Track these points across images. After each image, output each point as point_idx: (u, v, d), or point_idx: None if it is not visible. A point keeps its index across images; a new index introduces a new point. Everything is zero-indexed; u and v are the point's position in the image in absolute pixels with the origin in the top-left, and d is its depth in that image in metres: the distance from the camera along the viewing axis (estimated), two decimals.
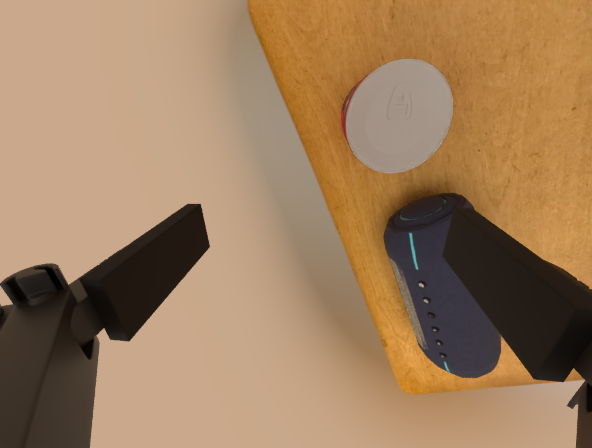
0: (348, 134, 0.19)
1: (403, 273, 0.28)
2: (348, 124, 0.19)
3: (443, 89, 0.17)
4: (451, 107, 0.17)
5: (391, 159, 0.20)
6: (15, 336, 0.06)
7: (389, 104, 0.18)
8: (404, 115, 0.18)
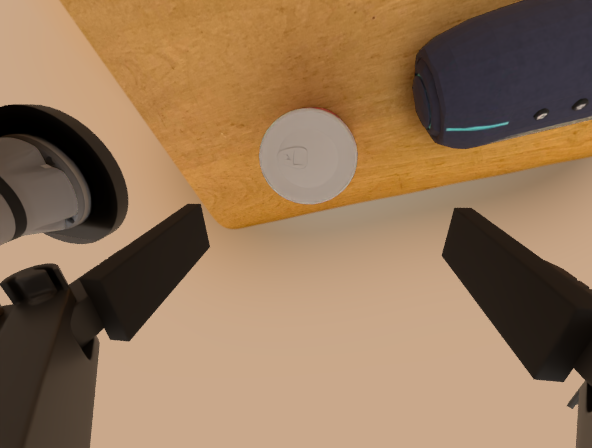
0: (311, 203, 0.21)
1: (512, 134, 0.20)
2: (303, 203, 0.21)
3: (285, 120, 0.18)
4: (302, 111, 0.18)
5: (342, 165, 0.20)
6: (14, 336, 0.06)
7: (292, 166, 0.20)
8: (303, 153, 0.20)
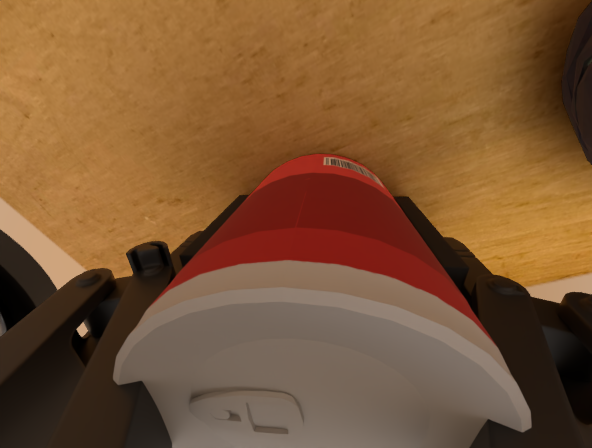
0: None
1: None
2: None
3: (175, 330, 0.04)
4: (237, 300, 0.03)
5: (449, 443, 0.05)
6: (133, 301, 0.07)
7: (254, 429, 0.06)
8: (284, 409, 0.05)
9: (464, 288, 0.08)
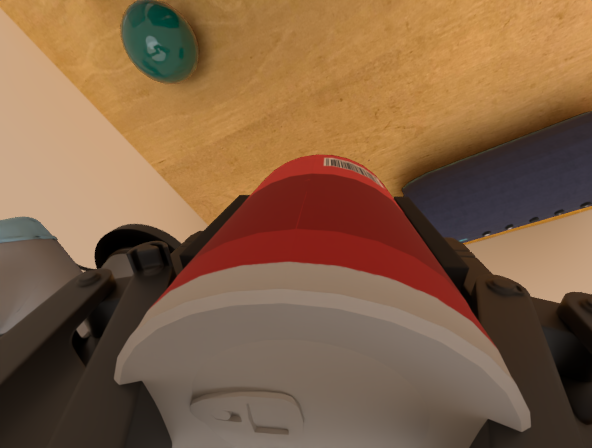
0: None
1: (473, 239, 0.30)
2: None
3: (176, 331, 0.04)
4: (238, 301, 0.03)
5: (448, 443, 0.05)
6: (132, 301, 0.07)
7: (254, 430, 0.06)
8: (285, 409, 0.05)
9: (464, 288, 0.08)
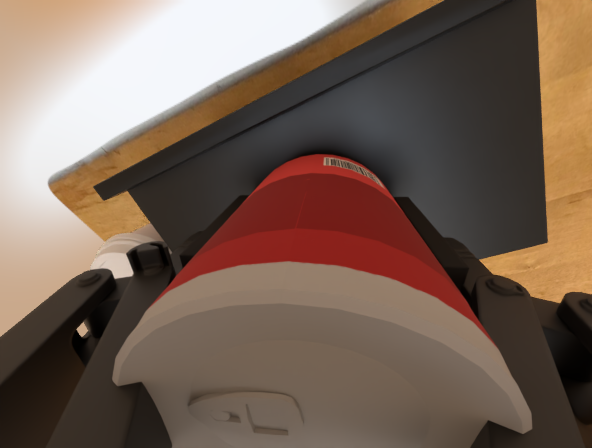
0: None
1: None
2: None
3: (174, 332, 0.04)
4: (236, 301, 0.03)
5: (449, 445, 0.05)
6: (132, 301, 0.07)
7: (254, 431, 0.06)
8: (284, 410, 0.05)
9: (464, 288, 0.08)
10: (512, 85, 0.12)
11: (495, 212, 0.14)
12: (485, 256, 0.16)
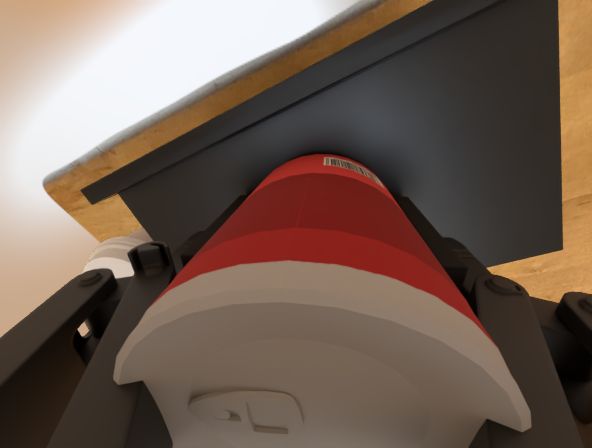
0: None
1: None
2: None
3: (175, 330, 0.04)
4: (237, 300, 0.03)
5: (449, 443, 0.05)
6: (133, 301, 0.07)
7: (254, 429, 0.06)
8: (284, 409, 0.05)
9: (463, 288, 0.08)
10: (529, 81, 0.11)
11: (507, 217, 0.14)
12: (496, 263, 0.15)
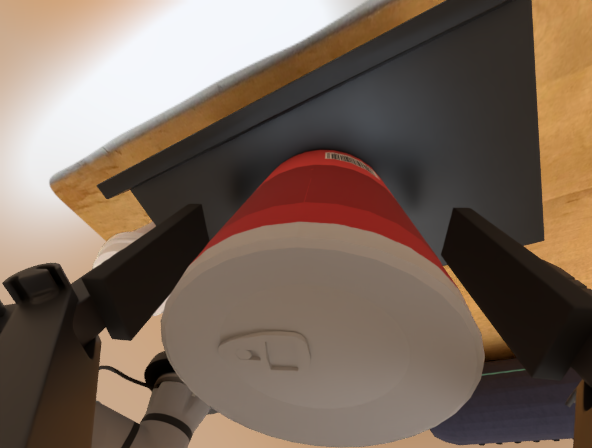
0: (338, 446, 0.08)
1: None
2: (314, 445, 0.08)
3: (215, 275, 0.05)
4: (264, 247, 0.05)
5: (425, 371, 0.06)
6: (17, 335, 0.06)
7: (270, 369, 0.07)
8: (296, 346, 0.06)
9: None
10: (508, 85, 0.12)
11: (492, 210, 0.15)
12: None
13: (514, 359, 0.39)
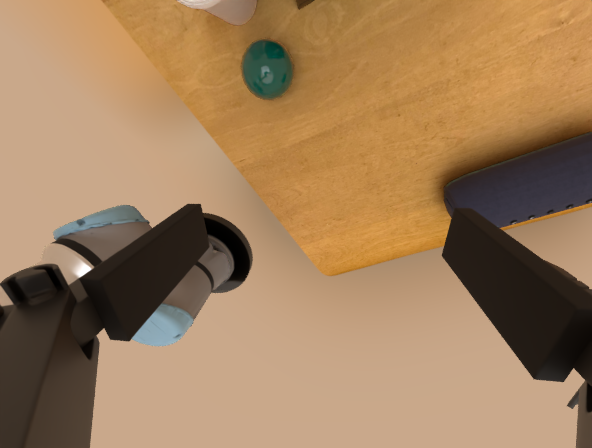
0: None
1: None
2: None
3: None
4: None
5: None
6: (15, 336, 0.06)
7: None
8: None
9: None
10: None
11: None
12: None
13: None
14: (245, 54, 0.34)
